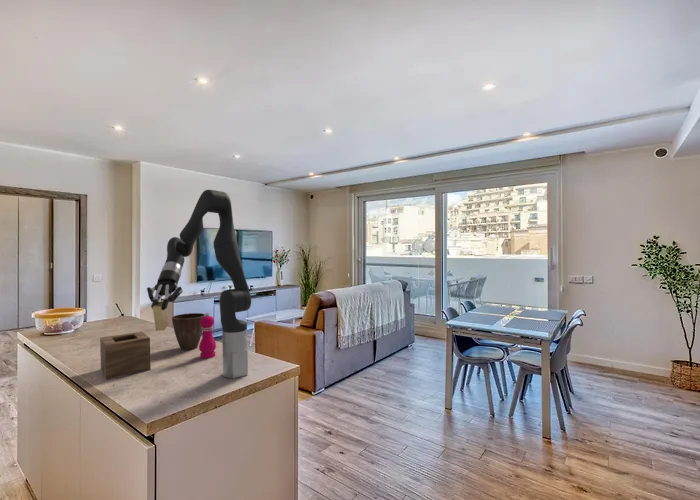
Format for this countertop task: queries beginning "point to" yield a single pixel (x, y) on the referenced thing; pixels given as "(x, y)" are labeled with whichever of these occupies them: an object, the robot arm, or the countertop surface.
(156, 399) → the countertop surface
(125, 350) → the wooden box
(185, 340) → the plant pot
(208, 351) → the pepper mill
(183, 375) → the countertop surface
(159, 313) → the beige rectangular block
